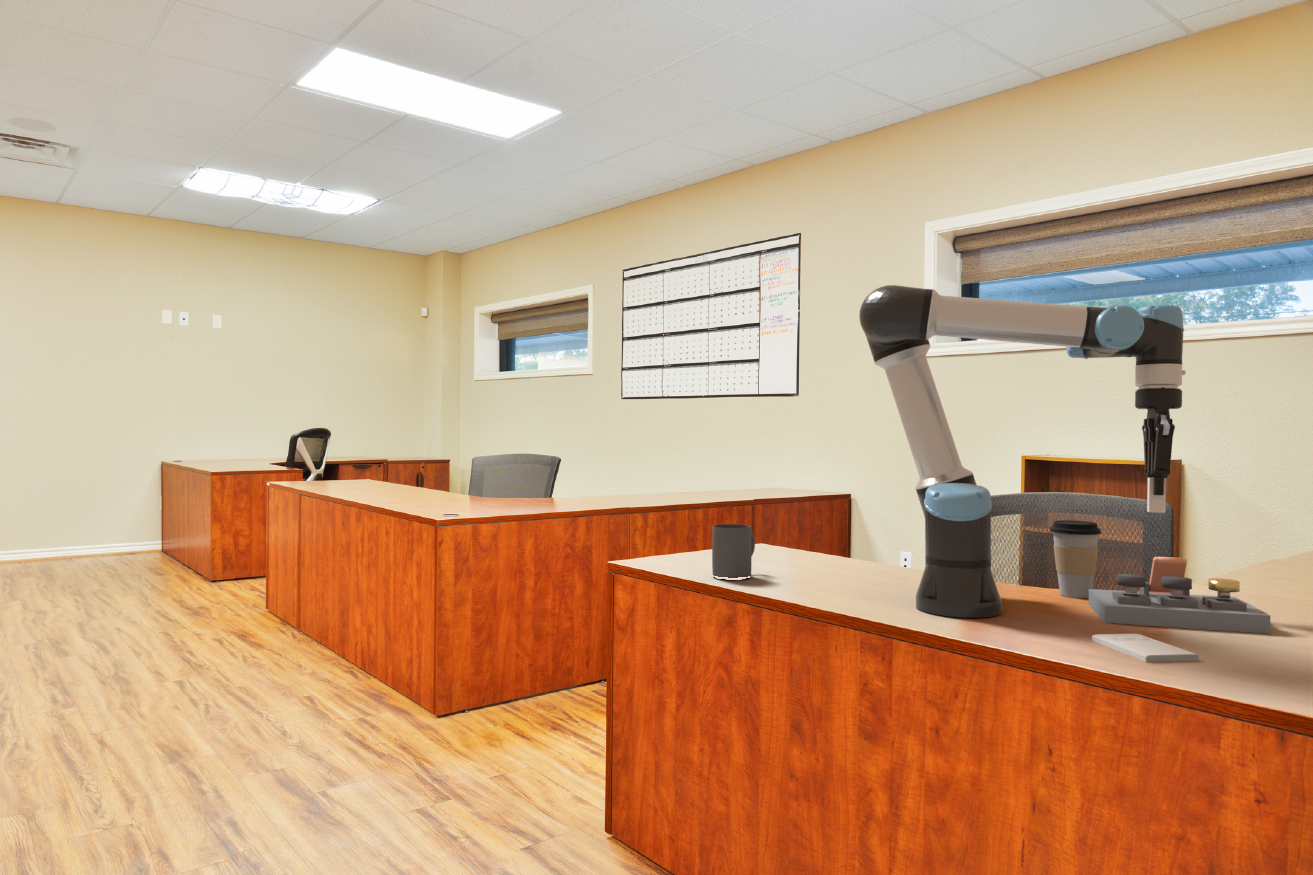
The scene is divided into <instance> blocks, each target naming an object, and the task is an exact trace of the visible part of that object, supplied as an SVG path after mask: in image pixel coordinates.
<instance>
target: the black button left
mask: <svg viewBox="0 0 1313 875" xmlns="http://www.w3.org/2000/svg"><path fill="white" fill-rule="evenodd" d="M1146 579H1147V578H1146V576H1145V575H1139V574H1132V573H1119V574H1116V584H1117V585H1118V586H1122V587H1125V590H1124V591H1125V592H1127V593H1137V592H1138V588H1140V587H1146V582H1147V580H1146Z"/></svg>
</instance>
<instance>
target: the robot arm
mask: <svg viewBox="0 0 1313 875" xmlns="http://www.w3.org/2000/svg"><path fill="white" fill-rule="evenodd" d="M1183 313H1184V312H1183V309H1182V308H1181V307H1179V306H1177V305H1172V304H1157V305H1156V304H1155V305H1148V306H1142V307H1140V308H1138V309H1135V308H1134V307H1132V306H1128V305H1121V304H1120V305H1112V306H1109V307H1099V306H1086V305H1074V304H1073V305H1072V304H1071V305H1070V304H1059V303H1057V304H1056V303H1047V302H1045V303H1044V302H1030V301H1022V300H1021V301H1020V300H1006V299H993V298H991V299H990V298H978V297H977V298H976V297H966V296H953V295H952V296H950V295H942V294H941V295H940V293H938V291H937V290H936V289H931V288H922V287H912V286H904V285H896V284H893V285H892V284H891V285H890V284H889V285H884V286H880V287H878V288H876V289H874V290H872V291H871V292H870V293H869V294H868V295H867V296H866V297H865V298H864V299H863V301H862V303H861V305H860V309H859V316H858V317H859V323H860V326H861V329H862V330H863V332H864V335H865V337H866V341H867V343H868V346H869V349H870V353H871V356H872V358H873V359H872V360H873V361H874V365H875V366H878V367H880V368H882V369H883V370H884V372H885V374H886V378H887V381H888V383H889V387H890V390H891V394H892V396H893V399H894V402H895V405H896V408H897V411H898V415H899V417H900V421H901V424H902V426H903V429H904V433H905V436H906V440H907V441H908V445H909V449H910V451H911V454H912V457H913V461H914V463H915V466H916V470H917V473H918V476H919V481H918V482H917V484H916V486H915V491H916V494H917V497H918V500H919V504H920V506H921V507H920V508H921V509H922V513H923V516H924V520H925V521H924V526H925V527H924V528H925V530H924V534H925V535H924V538H925V539H924V541H925V542H924V543H925V545H924V547H925V548H924V551H925V555H924V556H925V557H924V559H925V560H924V561H925V566H924V571H923V573H922V576H921V579H920V583H919V585H918V587H917V591H916V595H915V608H916V609H917V610H920V611H921V612H925V613H928V614H933V615H938V616H943V617H944V616H945V617H952V618H972V619H974V618H978V619H979V618H990V617H996V616H998V615H1001V614H1002V611H1003V609H1002V604H1003V603H1002V602H1003V601H1002V598H1001V596H1000V592H999V590H998V587H997V584H996V580H995V577H994V574H993V573H992V509H993V502H992V498H991V492H990V490H988V489H987V488H986V487H984V486H983V485H977V482H976V479H975V476H974V473H973V471H971V470H969V469H967V468H965V467H964V466H963V464H962V460H961V459H960V455H959V453H958V450H957V447H956V444H955V441H954V436H953V435H952V432H951V429H950V425H949V423H948V418H947V416H946V413H945V410H944V407H943V405H942V401H941V397H940V395H939V391H938V390H937V387H936V383H935V380H934V376H933V374H932V370H931V368H930V364H929V361H928V359H927V355H928V352H929V350H930V349H931V344H930V340H929V339H932V337H934V336H938V337H940V336H941V337H950V338H961V339H971V340H973V339H974V340H984V341H998V342H1008V343H1009V342H1011V343H1019V344H1020V343H1021V344H1022V343H1023V344H1032V345H1033V344H1034V345H1044V346H1056V347H1065V350H1066V354H1067V356H1068V357H1070V358H1074V359H1075V358H1077V359H1086V360H1087V359H1097V358H1098V359H1100V358H1101V359H1102V358H1103V359H1104V358H1107V359H1108V358H1135V369H1134V376H1135V377H1134V378H1135V379H1134V380H1135V381H1134V382H1135V383H1134V385H1135V387H1137V388H1138V389H1136V390H1135V392H1134V394H1135V395H1134V398H1135V399H1134V400H1135V401H1134V407H1135V408H1136V409H1137V410H1138V409H1139V410H1147V413H1146V418H1144V419H1143V425H1142V427H1141V429H1142V434H1143V454H1144V460H1143V461H1144V473H1145V474H1146V475H1145V477H1146V478H1147V496H1146V497H1147V499H1146V502H1147V503H1146V504H1147V505H1146V508H1147V509H1146V511H1147V512H1148V513H1154V514H1155V513H1157V514H1158V513H1159V514H1166V512H1167V511H1166V509H1167V508H1166V506H1167V505H1166V504H1167V503H1166V501H1167V478H1168V476H1170V475H1171V463H1172V462H1171V461H1172V450H1173V439H1174V433H1175V429H1176V426H1175V423H1173V418H1171V414H1170V410H1177V409H1181V408H1182V407H1183V390H1182V389H1181V388H1179V387H1180V386H1183V376H1186V372H1187V371H1186V370H1183V352H1184V349H1183V348H1184V332H1185V328H1184V314H1183Z"/></svg>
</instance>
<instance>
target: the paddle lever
mask: <svg viewBox="0 0 1313 875" xmlns="http://www.w3.org/2000/svg"><path fill="white" fill-rule="evenodd" d="M1151 563H1152V565H1151V570H1150V576H1149V582H1148V583H1149V592H1154V593H1171V589H1169V588H1164V587H1162V577H1163V576H1177V577H1185V573H1186V568H1187V559H1186V558H1185V557H1172V556H1171V557H1170V556H1154V557H1153V559H1152V562H1151Z"/></svg>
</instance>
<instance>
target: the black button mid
mask: <svg viewBox="0 0 1313 875" xmlns="http://www.w3.org/2000/svg"><path fill="white" fill-rule="evenodd" d="M1162 587H1164V588H1169V589H1171V595H1175V596H1183V590H1192V589H1193V579H1192V578H1190V577H1185V576H1184V577H1177V576H1163V577H1162Z"/></svg>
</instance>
